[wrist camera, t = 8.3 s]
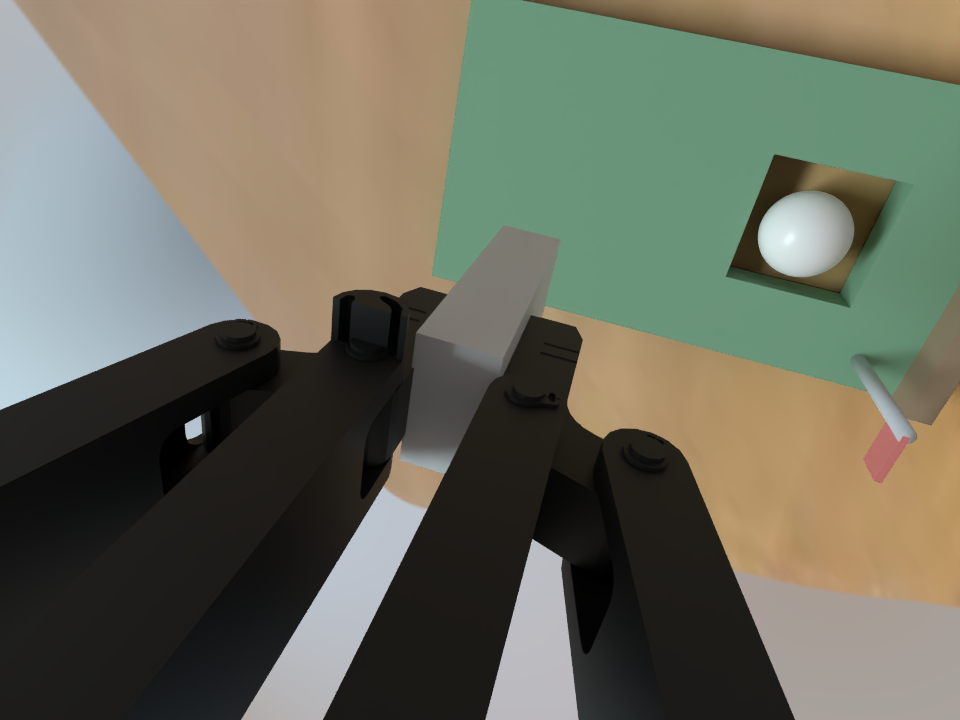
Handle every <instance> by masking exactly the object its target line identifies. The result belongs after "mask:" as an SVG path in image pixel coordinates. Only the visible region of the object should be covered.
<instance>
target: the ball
mask: <svg viewBox="0 0 960 720" xmlns="http://www.w3.org/2000/svg"><path fill="white" fill-rule="evenodd" d="M853 238H854V222H853V218H852V215H851V213H850V211H849V210H848V208H847V207H846V206H845V204H844V203H843V202H842V201H840V200H839V199H838V198H836V197H835V196H833V195H831V194H828V193H825V192H822V191H814V190H805V191H799V192H796V193H792V194H790V195H787V196H785V197H783V198H782V199H780V200H779V201H777V202H776V203H775V204H774V205H773V206H772V207H771V208H770V209H769V210H768V211H767V212H766V214H765V215H764V217H763V219H762V221H761V223H760V226H759V231H758V245H759V249H760V252H761V254H762V256H763V258H764V259H765V261H766V262H767V263H768V264H769V265H770V266H771V267H772V268H774V269H775V270H776V271H778V272H780V273H783V274H785V275H788V276H792V277H810V276H815V275H819V274H821V273H824V272H826V271H828V270H830V269H831V268H833V267H834V266H836V265H837V264H838V263H839V262H840V261H841V260H842V259H843V258H844V257H845V255H846V254H847V252H848V251H849V249H850V247H851V244H852V242H853Z"/></svg>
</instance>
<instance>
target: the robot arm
mask: <svg viewBox="0 0 960 720" xmlns="http://www.w3.org/2000/svg"><path fill="white" fill-rule="evenodd" d="M560 241H561V239H557V238H553V237H549V236H545V235H541V234H537V233H533V232H529V231H525V230H521V229H517V228H513V227H509V226H505V225H504V226H503V227H502V228H501V230H500V231H499V232H498V233H497V235H496V236H495V237H494V238H493V239H492V241H491V242H490V243H489V244H488V246H487V247H486V248H485V249H484V250H483V252H482V253H481V254H480V255H479V257H478V258H477V259H476V260H475V261H474V263H473V264H472V265H471V266H470V268H469V269H468V270H467V271H466V272H465V274H464V275H463V276H462V277H461V279H460V280H459V281H458V282H457V283H456V285H455V286H454V287H453V288H452V290H451V291H450V292H449V293H448V294H444V293H441V292H437V291H433V290H430V289H426V288H422V287H420V288H417V289H414V290H411V291H408V292H406V293H403V294H402V295H401V296H400V297H399V298H398V297H396V296H393V295H390V294H388V293H385V292H379V291H374V290H353V291H347V292H342V293H340V294H338V295H336V296H334V297H333V311H332V332H331V341H330V342H328V343H327V344H326V345H325V346H324V347H323V348H322V349H321V350H320V351H319V352H318V353H306V352H296V351H285V350H280V337H279V334H278V332H277V331H276V330H275V329H273V328H272V327H270V326H269V325H266V324H263V323H260V322H257V321H253V320H246V319H236V320H229V321H228V320H227V321H222V322H218V323H214V324H210V325H208V326H205V327H203V328H201V329H198V330H196V331H193V332H191V333H188V334H186V335H183V336H181V337H178V338H176V339H173V340H171V341H169V342H166V343H164V344H161V345H159V346H156V347H154V348H151V349H149V350H146V351H144V352H142V353H139V354H137V355H134V356H132V357H129V358H127V359H125V360H122V361H119V362H117V363H114V364H112V365H110V366H107V367H105V368H102V369H100V370H98V371H95V372H92V373H90V374H88V375H85V376H83V377H80V378H78V379H75V380H73V381H70V382H68V383H66V384H63V385H61V386H58V387H55V388H53V389H51V390H48V391H46V392H43V393H41V394H38V395H36V396H33V397H31V398H29V399H26V400H24V401H21V402H19V403H16V404H14V405H11V406H9V407H6V408H4V409H2V410H0V720H241V718H242V717H243V716H244V714H245V712H246V711H247V709H248V707H249V705H250V704H251V702H252V701H253V699H254V697H255V696H256V694H257V693H258V691H259V689H260V688H261V686H262V684H263V683H264V681H265V679H266V678H267V676H268V674H269V673H270V671H271V670H272V668H273V666H274V665H275V663H276V661H277V660H278V658H279V656H280V655H281V653H282V652H283V650H284V648H285V647H286V645H287V643H288V642H289V640H290V638H291V637H292V635H293V633H294V632H295V630H296V629H297V627H298V625H299V624H300V622H301V620H302V619H303V617H304V615H305V614H306V612H307V610H308V609H309V607H310V606H311V604H312V602H313V600H314V599H315V597H316V596H317V594H318V592H319V591H320V589H321V587H322V586H323V584H324V583H325V581H326V579H327V577H328V576H329V574H330V573H331V571H332V569H333V568H334V566H335V564H336V562H337V561H338V560H339V558H340V556H341V555H342V553H343V551H344V550H345V548H346V546H347V545H348V543H349V542H350V540H351V538H352V537H353V535H354V533H355V532H356V530H357V528H358V527H359V525H360V523H361V522H362V520H363V519H364V517H365V515H366V513H367V512H368V510H369V509H370V507H371V505H372V504H373V502H374V500H375V499H376V497H377V496H378V494H379V492H380V491H381V489H382V487H383V486H384V484H385V482H386V481H387V479H388V478H389V474H390V471H391V465H392V457H393V452H394V451H395V449H396V448H397V446H398V444H399V443H400V441H401V440H402V445H401V453H400V460H401V461H405V462H408V463H411V464H414V465H417V466H421V467H424V468H427V469H430V470H433V471H437V472H440V473H443V474H445V475H444V477H443V479H442V481H441V483H440V485H439V487H438V489H437V491H436V493H435V495H434V497H433V499H432V501H431V503H430V505H429V507H428V509H427V511H426V513H425V515H424V517H423V519H422V521H421V523H420V525H419V527H418V529H417V531H416V533H415V535H414V538H413V539H412V541H411V543H410V546H409V547H408V549H407V552H406V553H405V555H404V558H403V560H402V562H401V564H400V566H399V568H398V570H397V572H396V574H395V576H394V578H393V580H392V582H391V584H390V586H389V588H388V590H387V592H386V594H385V596H384V598H383V600H382V602H381V604H380V606H379V608H378V610H377V612H376V614H375V616H374V618H373V620H372V622H371V624H370V626H369V628H368V630H367V632H366V634H365V636H364V638H363V640H362V642H361V644H360V646H359V648H358V650H357V652H356V654H355V656H354V658H353V660H352V663H351V664H350V667H349V668H348V670H347V672H346V675H345V676H344V678H343V681H342V682H341V684H340V686H339V689H338V691H337V693H336V695H335V697H334V699H333V701H332V703H331V705H330V707H329V709H328V711H327V713H326V715H325V717H324V719H323V720H485V719H486V715H487V711H488V707H489V703H490V700H491V696H492V692H493V688H494V684H495V680H496V676H497V672H498V669H499V665H500V661H501V657H502V653H503V649H504V646H505V642H506V638H507V634H508V630H509V626H510V623H511V618H512V615H513V611H514V607H515V603H516V599H517V595H518V592H519V588H520V584H521V580H522V576H523V572H524V568H525V564H526V561H527V557H528V553H529V549H530V545H531V542H532V539H534V540H535V541H537V542H538V543H540V544H541V545H543V546H545V547H546V548H548V549H549V550H551V551H553V552H554V553H556V554H558V555H559V556H560V557H562V558H563V560H562V567H561V569H562V579H563V588H564V596H565V605H566V614H567V622H568V631H569V639H570V648H571V657H572V666H573V674H574V683H575V692H576V701H577V709H578V718H579V720H795V719H794V716H793V714H792V711H791V709H790V707H789V704H788V702H787V699H786V697H785V695H784V692H783V690H782V687H781V685H780V683H779V680H778V678H777V675H776V673H775V671H774V668H773V666H772V663H771V661H770V659H769V656H768V654H767V651H766V649H765V647H764V644H763V642H762V639H761V637H760V635H759V632H758V630H757V627H756V625H755V623H754V620H753V618H752V615H751V613H750V610H749V608H748V606H747V603H746V601H745V598H744V596H743V594H742V591H741V589H740V586H739V584H738V582H737V579H736V577H735V574H734V572H733V570H732V567H731V565H730V562H729V560H728V558H727V555H726V553H725V550H724V548H723V546H722V543H721V541H720V538H719V536H718V534H717V531H716V529H715V526H714V524H713V521H712V519H711V517H710V514H709V512H708V509H707V507H706V505H705V502H704V500H703V497H702V495H701V493H700V490H699V488H698V485H697V483H696V481H695V478H694V476H693V473H692V471H691V469H690V466H689V464H688V462H687V460H686V459H685V457H684V456H683V454H682V453H681V451H680V450H679V449H677V448H676V447H675V446H674V445H672V444H671V443H670V442H669V441H667V440H665V439H664V438H662V437H660V436H657V435H656V434H653V433H651V432H646V431H642V430H639V429H619V430H615V431H612V432H610V433H609V434H608V435H607V436H606V437H605V438H604V439H602V438H600V437H598V436H596V435H595V434H593V433H591V432H590V431H588V430H586V429H585V428H583V427H582V426H581V425H580V424H579V423H577V422H576V421H575V419H574V418H573V417H572V415H571V414H570V412H569V410H568V407H567V399H568V395H569V392H570V388H571V384H572V380H573V376H574V372H575V368H576V364H577V360H578V356H579V353H580V349H581V345H582V341H583V339H582V338H581V336H580V334H579V332H578V330H577V328H576V327H574V326H570V325H567V324H563V323H559V322H555V321H552V320H548V319H544V318H542V315H543V310H544V306H545V302H546V298H547V294H548V290H549V286H550V282H551V278H552V274H553V270H554V266H555V262H556V257H557V253H558V249H559V245H560ZM200 415H201V420H202V434H200V435H199V436H197V437H195V438H192V439H189V440H187V438H186V434H185V424H186V423H187V422H189V421H191V420H193V419H195V418H197V417H199V416H200Z"/></svg>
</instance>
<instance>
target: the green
mask: <svg viewBox="0 0 960 720" xmlns="http://www.w3.org/2000/svg"><path fill="white" fill-rule="evenodd" d="M774 154H776V155H781V156H785V157H790V158H794V159H799V160H803V161H808V162H813V163H817V164H822V165H826V166H831V167H836V168H840V169H845V170H849V171H854V172H859V173H863V174H868V175H872V176H877V177H882V178H886V179H891V180H895V181H896V183H895V185H894V187H893V189H892V191H891V193H890V195H889V197H888V199H887V201H886V203H885V205H884V207H883V209H882V211H881V213H880V215H879V217H878V219H877V221H876V223H875V225H874V227H873V229H872V231H871V233H870V235H869V237H868V239H867V241H866V243H865V245H864V247H863V249H862V251H861V253H860V254H859V256H858V258H857V260H856V262H855V264H854V266H853V268H852V270H851V272H850V274H849V276H848V278H847V280H846V282H845V284H844V286H843V288H842V290H841V292H840V293H836V292H832V291H828V290H824V289H820V288H815V287H811V286H807V285H803V284H799V283H795V282H791V281H787V280H783V279H779V278H775V277H771V276H767V275H763V274H758V273H754V272H750V271H746V270H742V269H738V268H734V267H730V264H731V262H732V259H733V257H734V254H735V252H736V249H737V247H738V244H739V242H740V239H741V237H742V234H743V232H744V229H745V227H746V224H747V222H748V219H749V217H750V214H751V212H752V209H753V207H754V204H755V202H756V199H757V197H758V194H759V191H760V189H761V186H762V184H763V181H764V179H765V176H766V174H767V171H768V169H769V166H770V164H771V161H772V159H773V156H774ZM504 225H505V226H509V227H513V228H517V229H521V230H525V231H529V232H533V233H537V234H541V235H545V236H549V237H553V238H557V239H561V241H560V245H559V249H558V253H557V257H556V262H555V266H554V270H553V274H552V278H551V282H550V286H549V290H548V294H547V298H546V302H545V306H548V307H552V308H556V309H560V310H563V311H567V312H571V313H575V314H578V315H582V316H586V317H590V318H593V319H597V320H601V321H605V322H608V323H612V324H616V325H620V326H624V327H627V328H631V329H635V330H639V331H642V332H646V333H650V334H654V335H657V336H661V337H665V338H669V339H672V340H676V341H680V342H684V343H687V344H691V345H695V346H699V347H703V348H706V349H710V350H714V351H718V352H721V353H725V354H729V355H733V356H736V357H740V358H744V359H748V360H751V361H755V362H759V363H763V364H766V365H770V366H774V367H778V368H781V369H785V370H789V371H793V372H797V373H800V374H804V375H808V376H812V377H815V378H819V379H823V380H827V381H830V382H834V383H838V384H842V385H845V386H849V387H853V388H857V389H860V390H864V391H868V392H869V394H870V396H871V397H872V399H873V401H874V402H875V404H876V406H877V407H878V409H879V411H880V412H881V414H882V415H883V417H884V419H885V420H886V423H885V424H884V426H883V428H882V429H881V431H880V433H879V434H878V436H877V437H876V439H875V441H874V442H873V444H872V446H871V447H870V449H869V450H868V452H867V454H866V455H865V457H864V459H863V460H864V462H865V464H866V466H867V468H868V470H869V472H870V474H871V476H872V478H873V480H874V481H876V482H879V483H882V482H883V480H884V479H885V477H886V476H887V474H888V472H889V471H890V469H891V468H892V466H893V465H894V463H895V462H896V460H897V459H898V457H899V456H900V454H901V452H902V451H903V449H904V448H905V446H906V445H907V444H910V443H913V442H914V441H915V440H916V439H917V434H916V432H915V431H914V429H913V428H912V426H911V425H910V423H909V422H908V420H907V419H909V420H913V421H917V422H921V423H924V424H928V425H932V424H933V422H934V421H935V419H936V417H937V416H938V414H939V413H940V411H941V410H942V408H943V407H944V405H945V404H946V402H947V401H948V399H949V398H950V396H951V395H952V393H953V392H954V390H955V389H956V387H957V386H958V384H959V383H960V85H956V84H951V83H946V82H941V81H936V80H930V79H925V78H920V77H915V76H910V75H905V74H899V73H894V72H889V71H884V70H879V69H874V68H869V67H863V66H858V65H853V64H848V63H843V62H838V61H832V60H827V59H822V58H817V57H812V56H807V55H802V54H796V53H791V52H786V51H781V50H776V49H771V48H765V47H760V46H755V45H750V44H745V43H740V42H735V41H729V40H724V39H719V38H714V37H709V36H704V35H698V34H693V33H688V32H683V31H678V30H673V29H667V28H662V27H657V26H652V25H647V24H642V23H637V22H631V21H626V20H621V19H616V18H611V17H606V16H600V15H595V14H590V13H585V12H580V11H575V10H570V9H564V8H559V7H554V6H549V5H544V4H539V3H533V2H528V1H523V0H471V6H470V13H469V20H468V27H467V34H466V41H465V48H464V55H463V62H462V69H461V76H460V83H459V90H458V97H457V104H456V111H455V118H454V125H453V133H452V140H451V147H450V154H449V161H448V168H447V175H446V182H445V189H444V196H443V203H442V210H441V217H440V224H439V231H438V238H437V245H436V252H435V259H434V266H433V273H432V276H435V277H439V278H443V279H447V280H450V281H454V282H458V281H459V280H460V279H461V277H462V276H463V275H464V274H465V272H466V271H467V270H468V269H469V268H470V266H471V265H472V264H473V263H474V261H475V260H476V259H477V258H478V257H479V255H480V254H481V253H482V252H483V250H484V249H485V248H486V247H487V246H488V244H489V243H490V242H491V241H492V239H493V238H494V237H495V236H496V235H497V233H498V232H499V231H500V230H501V228H502V227H503V226H504Z"/></svg>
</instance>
